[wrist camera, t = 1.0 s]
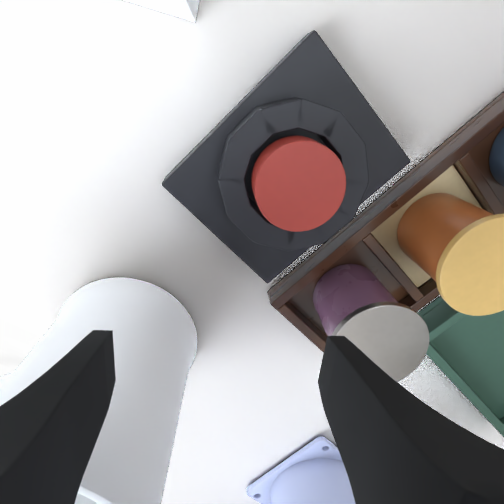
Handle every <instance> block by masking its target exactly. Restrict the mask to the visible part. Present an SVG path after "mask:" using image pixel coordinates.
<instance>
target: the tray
mask: <svg viewBox="0 0 504 504" xmlns="http://www.w3.org/2000/svg"><path fill="white" fill-rule="evenodd" d="M418 314H419V315H420V316H421V317H422V319H423V320H424V321H425V323H426V325H427V327H428V331H429V346H428V350H427V353H426V354H427V355H428V357H429V358H430V359H431V360H432V361H433V362H434V363H435V364H436V365H437V366H438V367H439V368H440V369H441V370H442V372H443V373H444V374H445V375H446V376H447V377H448V378H449V379H450V380H451V381H452V382H453V383H454V384H455V385H456V387H457V388H458V389H459V390H460V391H461V392H462V393H463V394H464V395H465V396H466V397H467V398H468V399H469V400H470V402H471V403H472V404H473V405H474V406H475V407H476V408H477V409H478V410H479V411H480V412H481V413H482V414H483V415H484V417H485V418H486V419H487V420H488V421H489V422H490V423H491V424H492V425H493V426H494V427H495V428H496V429H497V430H498V432H499V433H500V434H501V435H502V436H503V437H504V310H503V311H500V312H497V313H494V314H490V315H483V316H472V315H467V314H463V313H460V312H458V311H456V310H455V309H453V308H452V307H450V306H449V305H448V304H447V303H446V302H445V301H444V300H443V298H442V297H441V296H440V297H439V298H437V299H436V300H435V301H433V302H432V303H431V304H429V305H428V306H427V307H425V308H424V309H423V310H421V311H420V312H418Z"/></svg>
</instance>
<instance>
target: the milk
mask: <svg viewBox="0 0 504 504" xmlns="http://www.w3.org/2000/svg"><path fill="white" fill-rule="evenodd" d="M124 1H127V2H130V3H133V4H137V5H140V6H143V7H147V8H150V9H153V10H156V11H160V12H163V13H166V14H169V15H173V16H176V17H179V18H182V19H186V20H189V21H192V22H195V23H196V18H197V12H198V6H199V1H200V0H124Z"/></svg>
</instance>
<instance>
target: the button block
mask: <svg viewBox="0 0 504 504" xmlns="http://www.w3.org/2000/svg"><path fill="white" fill-rule="evenodd" d="M296 135H298V136H305V137H309V138H311V139H314V140H315V141H317V142H319V143H321V144H323V145H324V146H326V147H328V148H329V149H330V150H332V151H333V152H334V153H335V154H336V155H337V157H338V158H339V159H340V161H341V163H342V165H343V168H344V170H345V175H346V191H345V195H344V198H343V201H342V203H341V205H340V207H339V209H338V210H337V212H336V213H335V214H334V215H333V216H332V217H331V218H330V219H329V220H328V221H327V222H325V223H324V224H322V225H320V226H319V227H316V228H314V229H311V230H307V231H301V232H293V231H287V230H283V229H280V228H278V227H276V226H275V225H273V224H272V223H270V222H269V221H268V220H267V219H266V218H265V217H264V216H263V214H262V213H261V211H260V209H259V207H258V205H257V202H256V199H255V197H254V193H253V190H252V184H251V177H252V171H253V167H254V164H255V162H256V160H257V158H258V156H259V155H260V154H261V152H262V151H263V150H264V149H265V148H266V147H267V146H268V145H270V144H271V143H273V142H274V141H276V140H278V139H280V138H283V137H287V136H296ZM408 163H410V160H409V158H408V157H407V156H406V154H405V153H404V151H403V150H402V149H401V147H400V146H399V145H398V143H397V142H396V140H395V139H394V138H393V136H392V135H391V134H390V132H389V131H388V129H387V128H386V127H385V125H384V124H383V123H382V121H381V120H380V118H379V117H378V116H377V114H376V113H375V112H374V110H373V109H372V107H371V106H370V105H369V103H368V102H367V101H366V99H365V98H364V96H363V95H362V94H361V92H360V91H359V90H358V88H357V87H356V85H355V84H354V83H353V81H352V80H351V79H350V77H349V76H348V74H347V73H346V72H345V70H344V69H343V68H342V66H341V65H340V63H339V62H338V61H337V59H336V58H335V57H334V55H333V54H332V52H331V51H330V50H329V48H328V47H327V46H326V44H325V43H324V41H323V40H322V39H321V37H320V36H319V35H318V33H317V32H316V31H315V30H314V31H312V32H310V33H308V34H307V35H306V36H305V37H304V38H303V39H302V40H301V41H300V42H299V43H298V44H297V45H296V46H295V47H294V48H293V49H292V50H291V51H290V52H289V53H288V54H287V55H286V56H285V57H284V58H283V59H282V60H281V61H280V62H279V63H278V64H277V65H276V66H275V67H274V68H273V69H272V70H271V71H270V72H269V73H268V74H267V75H266V76H265V77H264V78H263V79H262V80H261V81H260V82H259V83H258V84H257V85H256V86H255V87H254V88H253V89H252V90H251V91H250V92H249V93H248V94H247V95H246V96H245V97H244V98H243V99H242V100H241V101H240V102H239V103H238V104H237V105H236V106H235V108H234V109H233V110H232V111H231V112H230V113H229V114H228V115H227V116H226V117H225V118H224V119H223V120H222V121H221V122H220V123H219V124H218V125H217V126H216V127H215V128H214V129H213V130H212V131H211V132H210V133H209V134H208V135H207V136H206V137H205V138H204V139H203V140H202V141H201V142H200V143H199V144H198V145H197V146H196V147H195V148H194V149H193V150H192V151H191V152H190V153H189V154H188V155H187V156H186V157H185V158H184V159H183V160H182V161H181V162H180V163H179V164H178V165H177V166H176V167H175V168H174V169H173V170H172V171H171V172H170V173H169V174H168V175H167V176H166V177H165V179H164V181H163V183H162V186H163V187H164V188H166V189H167V190H168V191H169V192H170V193H171V194H172V195H173V196H174V197H175V198H176V199H177V200H178V201H179V202H181V203H182V204H183V205H184V206H185V207H186V208H187V209H188V210H189V211H190V212H191V213H192V214H193V215H194V216H196V217H197V218H198V219H199V220H200V221H201V222H202V223H203V224H204V225H205V226H206V227H207V228H208V229H209V230H211V231H212V232H213V233H214V234H215V235H216V236H217V237H218V238H219V239H220V240H221V241H222V242H223V243H224V244H226V245H227V246H228V247H229V248H230V249H231V250H232V251H233V252H234V253H235V254H236V255H237V256H238V257H239V258H241V259H242V260H243V261H244V262H245V263H246V264H247V265H248V266H249V267H250V268H251V269H252V270H253V271H254V272H256V273H257V274H258V275H259V276H260V277H261V278H262V279H263V280H264V281H265V282H266V283H269V282H270V281H271V280H272V279H273V278H275V277H276V276H277V275H278V274H279V273H280V272H282V271H283V270H284V269H285V268H286V267H288V266H289V265H290V264H291V263H292V262H293V261H295V260H296V259H297V258H298V257H299V256H300V255H302V254H303V253H304V252H305V251H306V250H307V249H309V248H310V247H311V246H314V245H318V244H322V243H324V242H326V241H328V240H329V239H330V238H331V237H332V236H334V235H335V234H336V233H337V232H338V231H339V230H341V229H342V228H343V227H344V226H345V225H347V224H348V223H349V222H350V221H351V220H352V219H353V218H354V217H355V214H356V212H357V210H358V207H359V205H360V204H361V203H363V202H364V201H365V200H366V199H367V198H369V197H370V196H371V195H372V194H373V193H374V192H376V191H377V190H378V189H379V188H380V187H381V186H383V185H384V184H385V183H386V182H387V181H388V180H390V179H391V178H392V177H393V176H394V175H396V174H397V173H398V172H399V171H400V170H401V169H403V168H404V167H405V166H406V165H407V164H408Z"/></svg>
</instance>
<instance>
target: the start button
mask: <svg viewBox="0 0 504 504" xmlns="http://www.w3.org/2000/svg"><path fill="white" fill-rule="evenodd" d="M251 184H252V190H253V193H254V197H255V199H256V202H257V205H258V207H259V209H260V211H261V213H262V214H263V216H264V217H265V218H266V219H267V220H268V221H269V222H270V223H272V224H273V225H275V226H276V227H278V228H280V229H283V230H287V231H293V232H301V231H307V230H311V229H314V228H316V227H319V226H320V225H322V224H324V223H325V222H327V221H328V220H329V219H330V218H331V217H332V216H333V215H334V214H335V213H336V212H337V210H338V209H339V207H340V205H341V203H342V201H343V198H344V195H345V191H346V175H345V170H344V168H343V165H342V163H341V161H340V159H339V158H338V157H337V155H336V154H335V153H334V152H333V151H332V150H330V149H329V148H328V147H326V146H324V145H323V144H321V143H319V142H317V141H315V140H314V139H311V138H309V137H305V136H298V135H296V136H287V137H283V138H280V139H278V140H276V141H274V142H273V143H271V144H270V145H268V146H267V147H266V148H265V149H264V150H263V151H262V152H261V154H260V155H259V156H258V158H257V160H256V162H255V164H254V167H253V171H252V177H251Z"/></svg>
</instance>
